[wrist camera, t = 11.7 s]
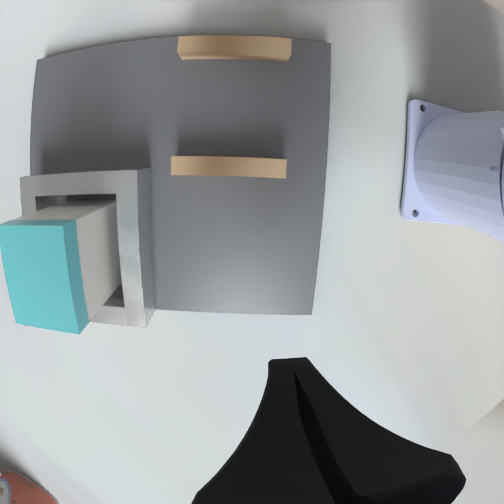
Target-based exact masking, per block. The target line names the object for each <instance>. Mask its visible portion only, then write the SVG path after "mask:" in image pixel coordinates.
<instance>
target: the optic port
mask: <svg viewBox="0 0 504 504" xmlns="http://www.w3.org/2000/svg"><path fill="white" fill-rule="evenodd" d="M20 190H21V205H22V216H25V215H27V214H30V213H33V212H36V211H38V210H41V209H44V208H47V207H50V206H53V205H56V204H57V195H78V194H116V202H117V226H118V243H119V256H120V268H121V278H122V288H123V289H116V290H115V291H114V292H113V294H112V295H111V296H110V297H109V298H108V299H107V301H106V302H105V303H104V304H103V305H102V307H101V308H100V309H99V310H98V311H97V312H96V314H95V315H94V316H93V317H92V318H91V320H90V321H89V322H97V323H106V324H115V325H125V326H135V327H147V325H148V323H149V321H150V319H151V317H152V315H153V314H154V312H155V310H156V299H155V286H154V271H153V252H152V226H151V168H116V169H94V170H77V171H63V172H50V173H40V174H34V175H29V176H24V177H20Z"/></svg>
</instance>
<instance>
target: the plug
mask: <svg viewBox="0 0 504 504" xmlns="http://www.w3.org/2000/svg"><path fill="white" fill-rule="evenodd" d="M0 249H1V255H2V261H3V267H4V272H5V278H6V283H7V287H8V292H9V296H10V301H11V305H12V309H13V313H14V317H15V320H16V323H17V324H22V325H28V326H33V327H38V328H44V329H50V330H55V331H61V332H68V333H74V334H80V333H81V332H82V330H83V329H84V328H85V327H86V325H87V324H88V323H89V321H90V320H91V318H92V317H93V316H94V315H95V314H96V312H97V311H98V310H99V309H100V308H101V307H102V305H103V304H104V303H105V302H106V301H107V299H108V298H109V297H110V296H111V295H112V294H113V292H114V291H115V290H116V289H117V288H118V287H119V286H120V284H121V283H122V278H121V268H120V256H119V243H118V226H117V202H116V200H80V201H64V202H61V203H58V204H56V205H53V206H50V207H47V208H44V209H41V210H38V211H36V212H33V213H30V214H27V215H25V216H22V217H19V218H17V219H14V220H10V221H8V222H5V223H3V224H0Z"/></svg>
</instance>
